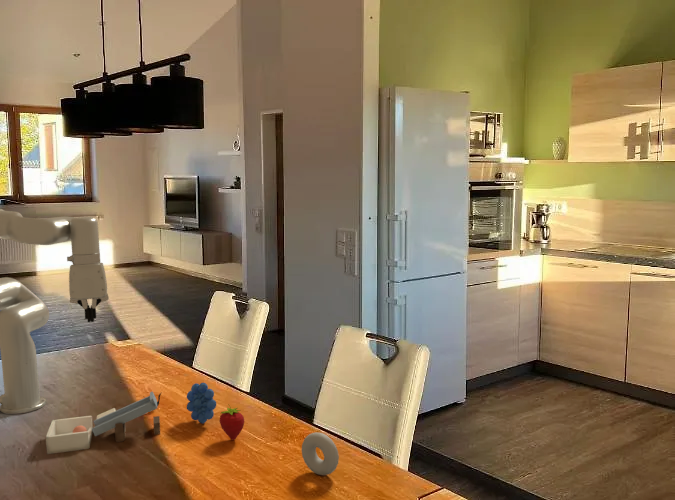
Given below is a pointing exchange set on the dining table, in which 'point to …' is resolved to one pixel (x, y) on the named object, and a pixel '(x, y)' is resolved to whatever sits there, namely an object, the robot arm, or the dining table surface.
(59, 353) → the dining table surface
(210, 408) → the grapes
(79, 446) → the tray
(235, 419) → the strawberry
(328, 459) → the donut
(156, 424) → the post
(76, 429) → the ball
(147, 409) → the lever
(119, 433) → the pivot stand
